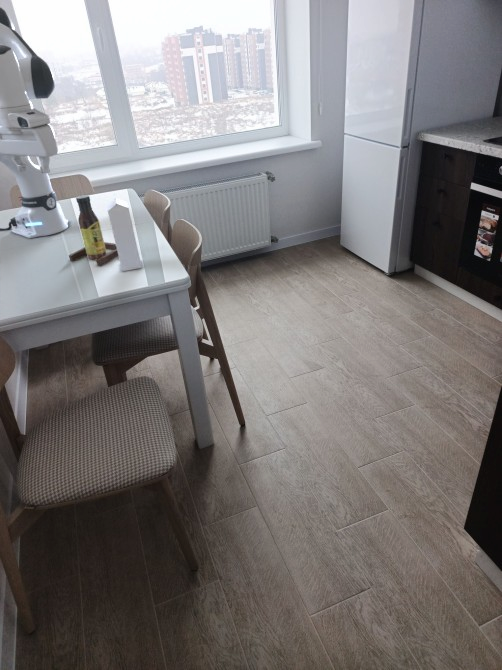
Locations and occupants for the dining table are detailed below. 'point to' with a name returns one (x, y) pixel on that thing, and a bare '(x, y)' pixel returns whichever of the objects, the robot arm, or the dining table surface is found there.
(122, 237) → the milk
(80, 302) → the dining table surface
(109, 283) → the dining table surface
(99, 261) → the bottle bay
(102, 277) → the dining table surface
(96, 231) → the sauce bottle
